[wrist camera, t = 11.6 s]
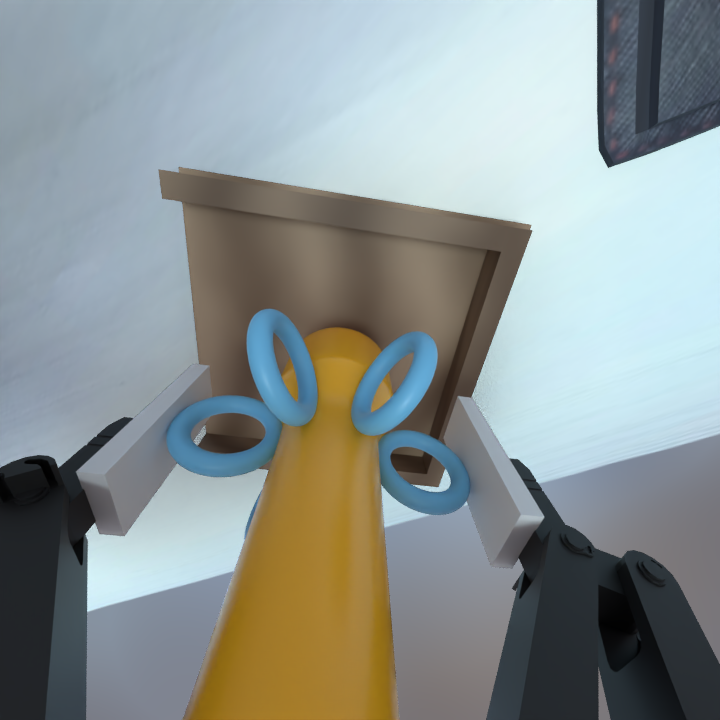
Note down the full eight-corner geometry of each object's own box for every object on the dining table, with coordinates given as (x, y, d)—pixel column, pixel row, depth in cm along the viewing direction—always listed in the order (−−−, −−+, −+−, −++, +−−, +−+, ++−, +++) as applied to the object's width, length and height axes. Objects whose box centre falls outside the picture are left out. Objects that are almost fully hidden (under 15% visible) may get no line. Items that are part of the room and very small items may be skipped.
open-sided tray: (214, 437, 25) (196, 465, 22) (190, 169, 16) (157, 161, 14) (438, 461, 26) (447, 490, 23) (521, 224, 18) (550, 226, 15)
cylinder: (208, 306, 16) (-482, 744, 3) (391, 239, 15) (693, 500, 1) (300, 463, 22) (203, 883, 8) (443, 425, 20) (616, 861, 7)
